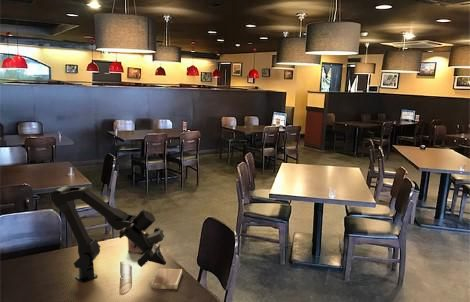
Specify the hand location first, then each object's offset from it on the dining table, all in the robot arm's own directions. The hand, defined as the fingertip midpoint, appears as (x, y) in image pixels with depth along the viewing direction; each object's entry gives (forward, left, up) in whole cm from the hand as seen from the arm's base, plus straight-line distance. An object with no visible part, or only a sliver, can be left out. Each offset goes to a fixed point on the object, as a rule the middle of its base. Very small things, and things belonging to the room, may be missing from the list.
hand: (165, 264), depth 149 cm
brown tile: (-4, -3, -6) cm, 8 cm away
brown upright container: (-30, +8, -7) cm, 32 cm away
